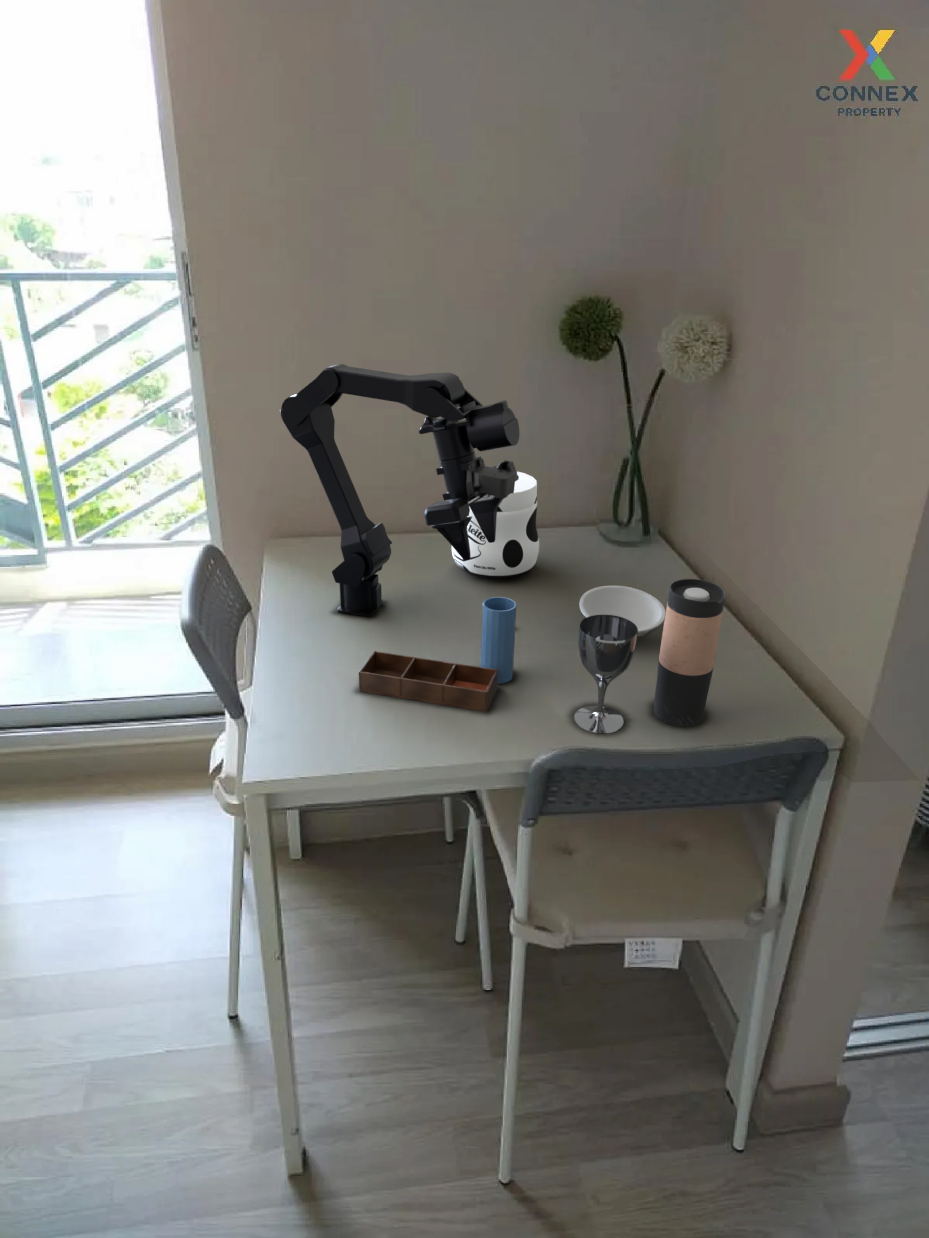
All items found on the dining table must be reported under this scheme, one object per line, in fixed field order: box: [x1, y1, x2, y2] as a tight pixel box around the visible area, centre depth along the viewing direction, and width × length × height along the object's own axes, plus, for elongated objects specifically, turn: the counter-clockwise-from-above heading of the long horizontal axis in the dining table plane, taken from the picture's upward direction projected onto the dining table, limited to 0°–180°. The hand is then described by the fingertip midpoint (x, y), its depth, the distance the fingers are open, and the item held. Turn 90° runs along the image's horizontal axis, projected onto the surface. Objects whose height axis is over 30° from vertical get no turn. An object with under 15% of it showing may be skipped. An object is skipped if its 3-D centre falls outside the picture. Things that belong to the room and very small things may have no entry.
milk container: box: [450, 471, 540, 579], centre depth 171 cm, size 17×17×18 cm
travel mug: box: [653, 578, 726, 727], centre depth 124 cm, size 8×8×20 cm
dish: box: [578, 585, 666, 638], centre depth 149 cm, size 18×14×5 cm
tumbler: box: [480, 596, 517, 685], centre depth 134 cm, size 5×5×12 cm
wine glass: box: [573, 615, 639, 734], centre depth 123 cm, size 8×8×15 cm
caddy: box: [358, 650, 499, 713], centre depth 132 cm, size 20×7×3 cm, turn 75°
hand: (480, 550), depth 142 cm, fingers open, 9 cm apart
